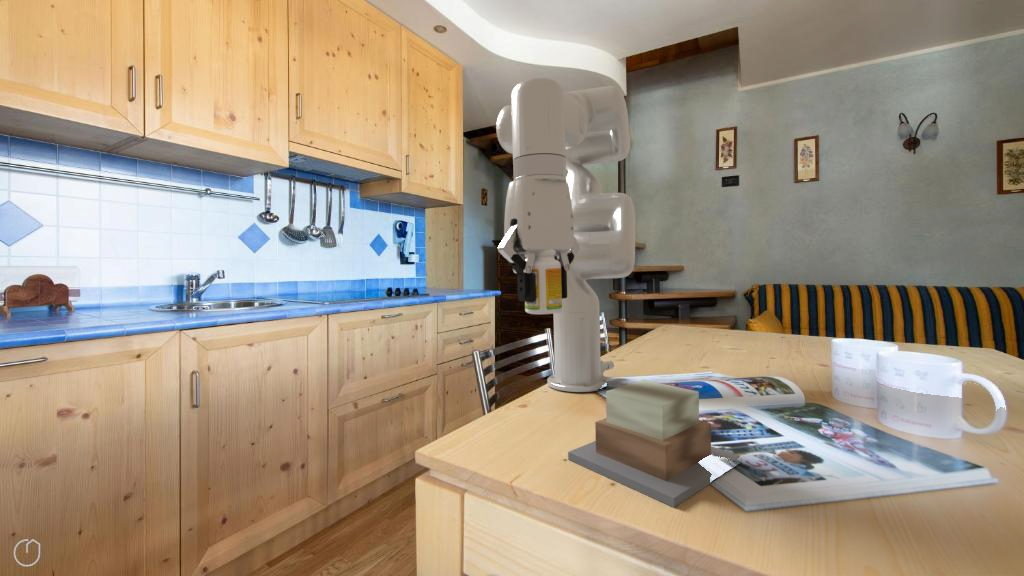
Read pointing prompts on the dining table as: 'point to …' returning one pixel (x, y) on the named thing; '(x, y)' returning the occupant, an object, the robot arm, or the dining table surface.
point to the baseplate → (647, 484)
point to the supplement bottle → (546, 284)
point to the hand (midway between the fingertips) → (543, 298)
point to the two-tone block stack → (653, 428)
